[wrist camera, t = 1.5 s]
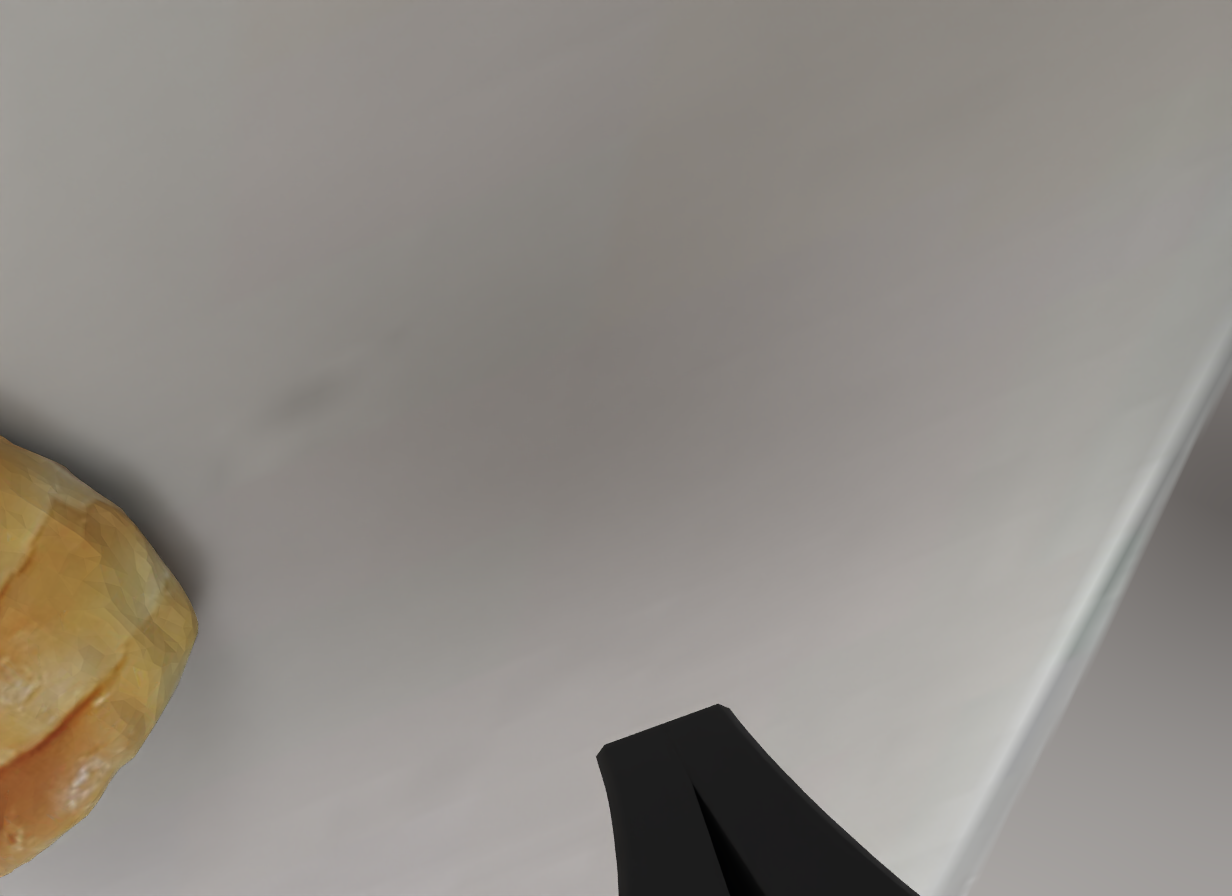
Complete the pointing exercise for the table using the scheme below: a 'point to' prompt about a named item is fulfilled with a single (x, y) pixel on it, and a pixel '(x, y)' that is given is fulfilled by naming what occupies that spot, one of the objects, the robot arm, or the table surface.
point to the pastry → (75, 648)
